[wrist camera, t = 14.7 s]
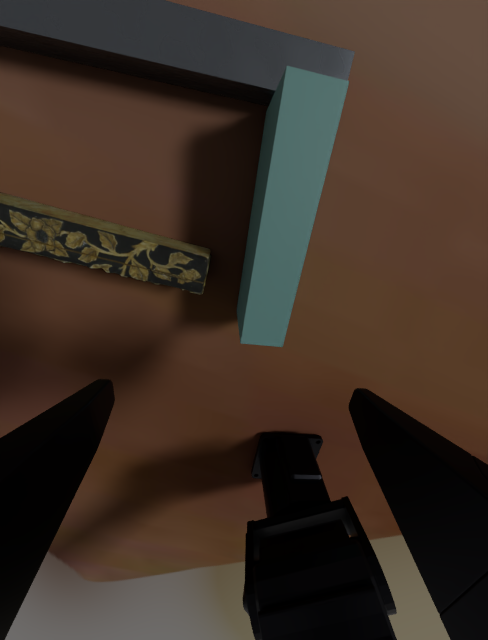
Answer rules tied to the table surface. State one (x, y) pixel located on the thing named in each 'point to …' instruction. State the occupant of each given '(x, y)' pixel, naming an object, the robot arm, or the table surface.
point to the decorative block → (101, 244)
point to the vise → (167, 44)
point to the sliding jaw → (286, 199)
